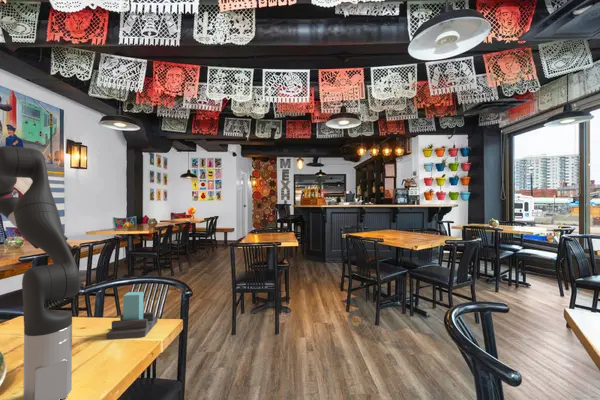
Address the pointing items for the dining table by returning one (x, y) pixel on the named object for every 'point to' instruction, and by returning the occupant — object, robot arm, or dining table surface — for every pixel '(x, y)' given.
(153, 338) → the dining table surface
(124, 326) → the book stand
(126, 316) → the teal book
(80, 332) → the dining table surface
